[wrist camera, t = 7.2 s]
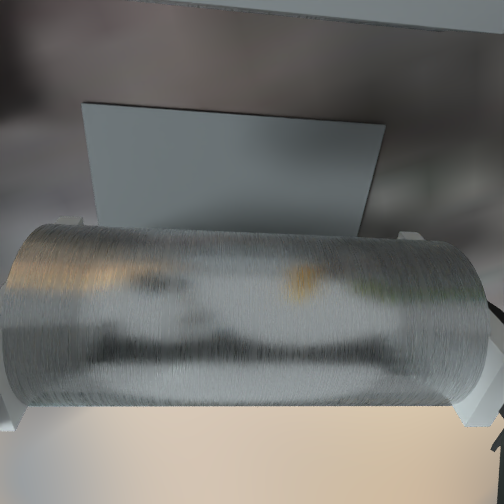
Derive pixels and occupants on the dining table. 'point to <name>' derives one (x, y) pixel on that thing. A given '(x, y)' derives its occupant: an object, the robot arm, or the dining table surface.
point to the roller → (240, 319)
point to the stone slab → (383, 11)
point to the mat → (229, 170)
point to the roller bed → (286, 15)
